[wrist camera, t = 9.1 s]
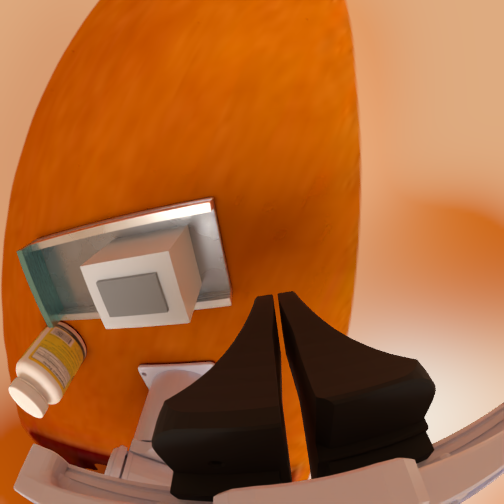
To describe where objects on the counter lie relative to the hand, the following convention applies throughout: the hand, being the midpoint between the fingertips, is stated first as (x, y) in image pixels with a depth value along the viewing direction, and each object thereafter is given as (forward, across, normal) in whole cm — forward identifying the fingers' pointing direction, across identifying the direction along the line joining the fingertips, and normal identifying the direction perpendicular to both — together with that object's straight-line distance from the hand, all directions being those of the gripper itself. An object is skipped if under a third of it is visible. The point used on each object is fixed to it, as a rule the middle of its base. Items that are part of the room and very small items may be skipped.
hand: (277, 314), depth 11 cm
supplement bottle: (+10, +22, +8) cm, 25 cm away
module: (+9, +8, 0) cm, 12 cm away
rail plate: (+9, +12, 0) cm, 15 cm away
